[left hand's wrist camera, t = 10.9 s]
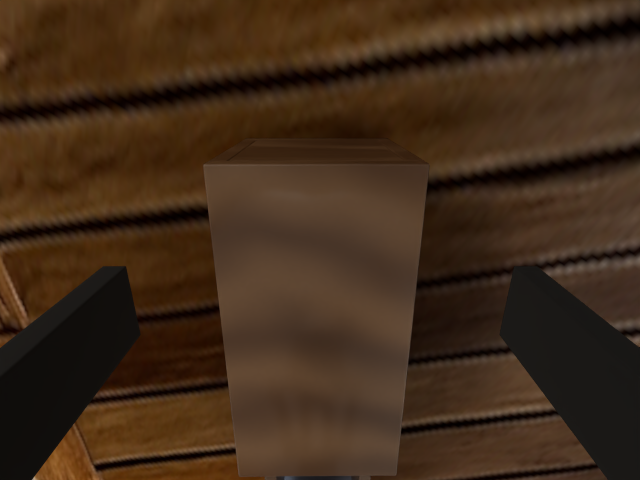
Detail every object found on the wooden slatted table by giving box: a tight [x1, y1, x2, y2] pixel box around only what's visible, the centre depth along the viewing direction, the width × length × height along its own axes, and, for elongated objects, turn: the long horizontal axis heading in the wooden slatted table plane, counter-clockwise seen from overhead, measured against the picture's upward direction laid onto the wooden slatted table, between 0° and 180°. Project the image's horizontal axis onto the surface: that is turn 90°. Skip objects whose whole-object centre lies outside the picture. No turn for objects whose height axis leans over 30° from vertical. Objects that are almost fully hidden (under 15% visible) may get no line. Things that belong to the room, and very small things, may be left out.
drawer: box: [265, 476, 371, 480], centre depth 30 cm, size 24×9×9 cm, turn 0°
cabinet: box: [203, 138, 429, 477], centre depth 25 cm, size 20×10×11 cm, turn 0°
